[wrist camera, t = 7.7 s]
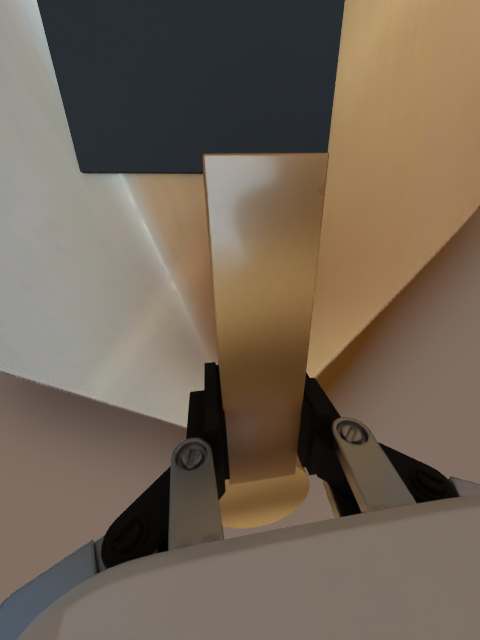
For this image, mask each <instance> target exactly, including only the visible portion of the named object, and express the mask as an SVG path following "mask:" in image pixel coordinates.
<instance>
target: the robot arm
mask: <svg viewBox="0 0 480 640" xmlns="http://www.w3.org/2000/svg"><path fill="white" fill-rule="evenodd" d="M297 455H298V458H299V460H300V463H301V465H302V467H306V468H307V471H308V473H309V475H314V474H317V476H318V477H319V478H321V479H322V480H323V484H324V487H325V490H326V493H327V496H328V499H329V502H330V505H331V508H332V511H333V513H334V516H335V518H334V519H329V520H323V521H318V522H313V523H307V524H302V525H297V526H291V527H286V528H281V529H275V530H270V531H265V532H260V533H255V534H250V535H244V536H239V537H234V538H229V539H224V535H223V527H222V519H221V512H220V505H219V500H220V499H221V497H222V496H223V495H224V493H225V492H226V490H225V489H226V487H225V480H228V479H230V470H229V457H228V444H227V431H226V420H225V410H223V406H222V395H221V384H220V372H219V365H216V363H215V362H212V363H205V390H203V391H194V392H190V400H189V412H188V424H187V437H186V440H184V441H183V442H181V443H180V444H179V445H178V446H177V447H176V448H175V450H174V451H173V453H172V457H171V466H170V467H169V468H168V470H167V471H165V472H164V473H163V474H162V475H161V476H160V477H159V478H158V479H157V480H156V481H155V482H154V483H153V484H152V485H151V486H150V487H149V488H148V489H147V490H146V491H145V492H144V493H143V494H142V495H141V496H140V497H138V498H137V499H136V500H135V501H134V502H133V503H132V504H131V505H130V506H129V507H128V508H127V509H126V510H125V511H124V512H123V513H122V514H121V515H120V516H119V517H118V518H117V519H116V520H115V521H114V522H113V524H112V525H111V526H110V527H109V529H108V531H107V532H106V534H105V536H103V537H102V538H100V539H99V540H97V541H96V542H94V541H93V540H92V541H90V542H89V543H87V544H86V545H84V546H82V547H81V548H79V549H78V550H76V551H75V552H73V553H72V554H70V555H69V556H67V557H66V558H64V559H63V560H61V561H60V562H58V563H57V564H55V565H54V566H52V567H51V568H49V569H48V570H46V571H45V572H43V573H42V574H40V575H39V576H37V577H36V578H34V579H33V580H31V581H30V582H28V583H27V584H25V585H24V586H22V587H21V588H19V589H18V590H16V591H15V592H14V593H13V594H11V595H10V596H9V597H8V598H7V599H5V600H4V601H3V602H2V604H1V605H0V640H480V484H477V483H473V482H469V481H465V480H462V479H459V478H455V477H450V478H449V479H447V478H446V477H445V476H444V475H442V474H441V473H440V472H439V471H437V470H436V469H434V468H432V467H430V466H428V465H426V464H424V463H422V462H420V461H417V460H415V459H413V458H411V457H409V456H407V455H405V454H402V453H400V452H398V451H396V450H394V449H392V448H389V447H387V446H385V445H383V444H381V443H379V442H377V440H376V439H375V437H374V436H373V434H372V433H371V431H370V430H369V429H368V427H367V426H366V425H364V424H363V423H362V422H360V421H358V420H356V419H353V418H350V417H340V415H339V414H338V412H337V410H336V409H335V407H334V406H333V404H332V403H331V401H330V400H329V398H328V397H327V395H326V394H325V392H324V391H323V390H322V388H321V387H320V385H319V384H318V382H317V381H316V379H315V378H309V376H308V374H307V373H306V376H305V386H304V395H303V401H302V410H301V420H300V429H299V439H298V449H297Z"/></svg>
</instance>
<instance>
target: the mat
mask: <svg viewBox="0 0 480 640" xmlns="http://www.w3.org/2000/svg"><path fill="white" fill-rule="evenodd" d="M344 2H345V0H37V3H38V7H39V11H40V14H41V18H42V22H43V26H44V30H45V34H46V38H47V42H48V46H49V50H50V54H51V58H52V62H53V66H54V70H55V74H56V77H57V81H58V85H59V89H60V93H61V97H62V101H63V105H64V109H65V113H66V117H67V121H68V125H69V129H70V133H71V137H72V140H73V144H74V148H75V152H76V156H77V160H78V164H79V168H80V171H81V172H82V173H203V159H202V156H203V154H205V153H327V151H328V142H329V134H330V125H331V116H332V107H333V98H334V90H335V81H336V72H337V63H338V54H339V46H340V37H341V28H342V19H343V11H344Z"/></svg>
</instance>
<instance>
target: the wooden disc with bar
mask: <svg viewBox="0 0 480 640" xmlns="http://www.w3.org/2000/svg"><path fill="white" fill-rule="evenodd" d="M328 158H329V154H328V153H205V154H203V156H202V159H203V178H204V190H205V202H206V215H207V227H208V239H209V251H210V264H211V276H212V288H213V300H214V312H215V325H216V337H217V349H218V361H219V372H220V384H221V395H222V406H223V410H225V420H226V431H227V444H228V457H229V470H230V479H228V480H225V487H226V489H225V490H226V492H225V493H224V495H223V496H222V497H221V499H220V500H219V505H220V512H221V519H222V526H226V527H231V528H253V527H259V526H264V525H267V524H270V523H273V522H276V521H278V520H280V519H282V518H284V517H286V516H287V515H289V514H291V513H292V512H293V511H295V510H296V509H297V508H298V507H299V506H300V505H301V504H302V503H303V501H304V500H305V498H306V497H307V494H308V491H309V479H308V476H307V474H306V472H305V469H304V467H302V465H301V463H300V460H299V458H298V455H297V449H298V439H299V429H300V420H301V410H302V401H303V395H304V386H305V376H306V367H307V357H308V348H309V338H310V329H311V319H312V310H313V300H314V291H315V282H316V272H317V263H318V253H319V244H320V234H321V225H322V215H323V206H324V196H325V187H326V177H327V168H328Z"/></svg>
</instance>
